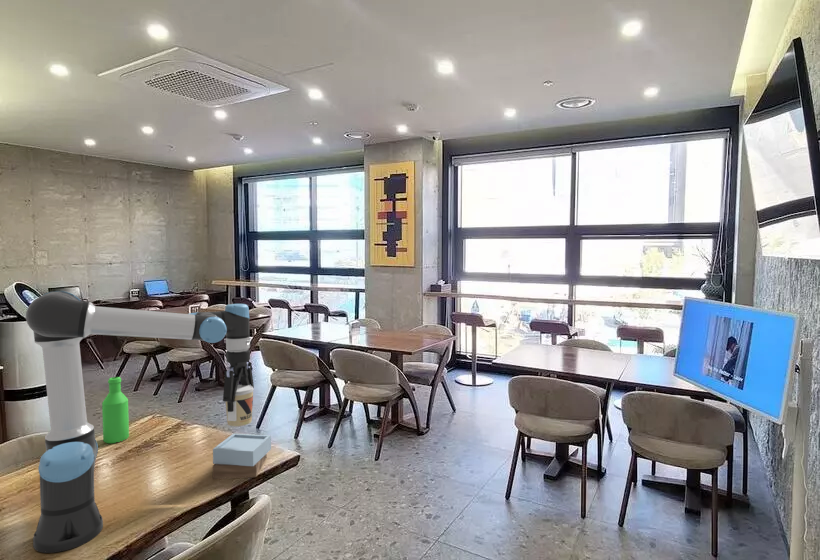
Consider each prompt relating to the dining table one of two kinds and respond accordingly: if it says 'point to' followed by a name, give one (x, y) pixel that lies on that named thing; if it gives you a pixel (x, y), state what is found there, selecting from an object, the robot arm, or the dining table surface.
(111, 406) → the bottle
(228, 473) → the block bottom
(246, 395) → the coffee cup
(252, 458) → the block top
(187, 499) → the dining table surface
